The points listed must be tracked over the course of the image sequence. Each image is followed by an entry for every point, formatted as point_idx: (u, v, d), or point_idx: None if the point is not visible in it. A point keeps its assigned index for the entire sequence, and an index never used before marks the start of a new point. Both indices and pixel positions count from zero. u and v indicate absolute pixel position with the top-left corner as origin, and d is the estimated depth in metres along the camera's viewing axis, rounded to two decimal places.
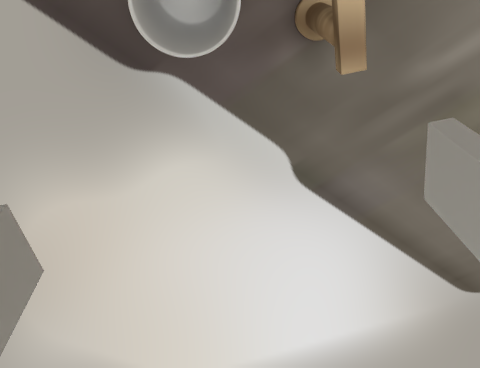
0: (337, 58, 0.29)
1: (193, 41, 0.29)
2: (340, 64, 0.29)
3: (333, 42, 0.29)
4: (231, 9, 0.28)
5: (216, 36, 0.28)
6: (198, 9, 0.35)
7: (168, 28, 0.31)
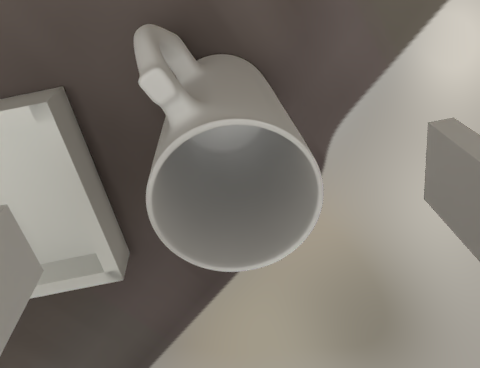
0: None
1: (295, 152, 0.19)
2: None
3: None
4: None
5: None
6: None
7: (273, 166, 0.22)
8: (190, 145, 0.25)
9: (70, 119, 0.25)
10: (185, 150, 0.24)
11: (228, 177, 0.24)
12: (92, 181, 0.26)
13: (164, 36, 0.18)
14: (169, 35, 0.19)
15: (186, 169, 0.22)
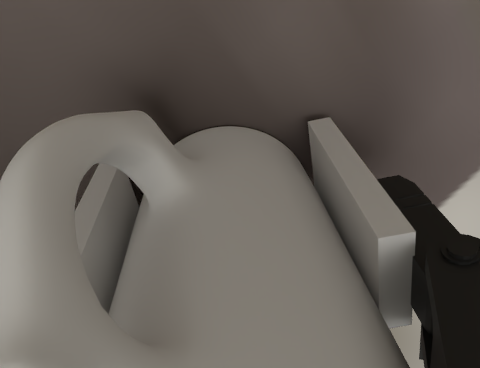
0: None
1: None
2: None
3: None
4: None
5: None
6: None
7: None
8: None
9: None
10: None
11: None
12: None
13: (105, 140, 0.08)
14: (121, 129, 0.09)
15: None
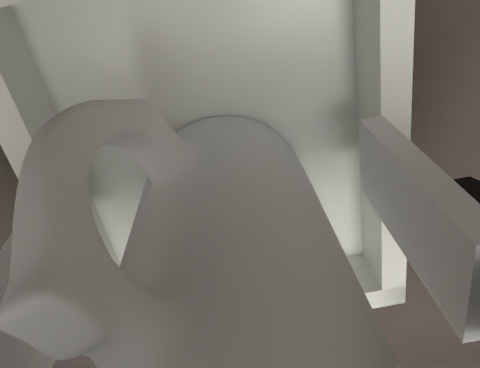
0: None
1: None
2: None
3: None
4: None
5: None
6: None
7: None
8: None
9: None
10: None
11: None
12: None
13: (113, 123, 0.09)
14: (127, 114, 0.10)
15: None
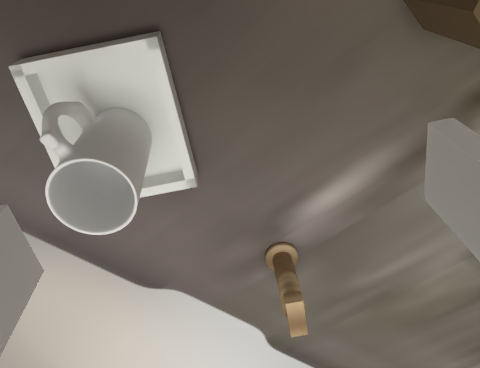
0: None
1: None
2: (290, 331, 0.43)
3: (285, 314, 0.44)
4: None
5: None
6: None
7: None
8: (99, 163, 0.41)
9: None
10: (93, 166, 0.40)
11: (118, 183, 0.39)
12: None
13: (66, 108, 0.34)
14: (71, 106, 0.34)
15: (89, 178, 0.38)
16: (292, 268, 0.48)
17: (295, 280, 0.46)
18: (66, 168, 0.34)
